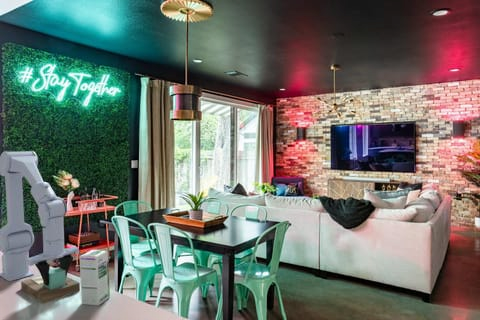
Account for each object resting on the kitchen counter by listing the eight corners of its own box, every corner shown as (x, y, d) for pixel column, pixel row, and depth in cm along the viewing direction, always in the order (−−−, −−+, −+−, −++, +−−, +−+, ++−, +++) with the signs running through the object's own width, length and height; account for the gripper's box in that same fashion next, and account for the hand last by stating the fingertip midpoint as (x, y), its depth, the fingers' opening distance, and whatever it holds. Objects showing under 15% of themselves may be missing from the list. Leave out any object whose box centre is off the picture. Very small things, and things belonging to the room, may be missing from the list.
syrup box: (99, 306, 102) (97, 256, 101) (80, 304, 103) (79, 254, 102) (110, 297, 107) (108, 250, 107) (92, 295, 109) (91, 248, 108)
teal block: (44, 293, 110) (43, 271, 110) (59, 288, 114) (58, 267, 113) (51, 297, 108) (50, 274, 107) (66, 292, 111) (65, 270, 111)
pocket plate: (21, 288, 114) (21, 280, 114) (56, 278, 122) (56, 270, 122) (42, 303, 104) (42, 294, 103) (79, 290, 112) (79, 282, 112)
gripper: (33, 246, 102) (35, 293, 102) (82, 236, 113) (84, 278, 114) (23, 242, 106) (25, 287, 107) (72, 232, 117) (73, 272, 118)
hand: (55, 282), depth 111 cm, fingers closed on teal block, 4 cm apart
